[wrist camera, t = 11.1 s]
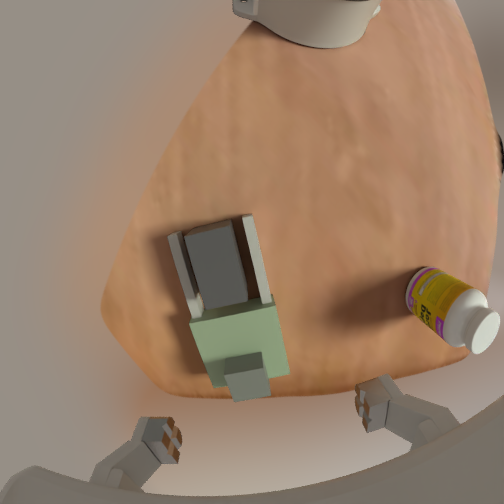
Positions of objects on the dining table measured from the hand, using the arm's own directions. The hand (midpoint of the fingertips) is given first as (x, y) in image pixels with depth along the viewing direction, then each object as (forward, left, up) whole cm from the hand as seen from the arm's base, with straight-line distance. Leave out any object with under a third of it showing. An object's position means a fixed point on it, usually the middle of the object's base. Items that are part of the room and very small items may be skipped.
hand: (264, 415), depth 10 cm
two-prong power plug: (+3, -3, -20) cm, 20 cm away
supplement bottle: (+8, +21, -20) cm, 30 cm away
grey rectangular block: (-3, -3, -20) cm, 20 cm away
